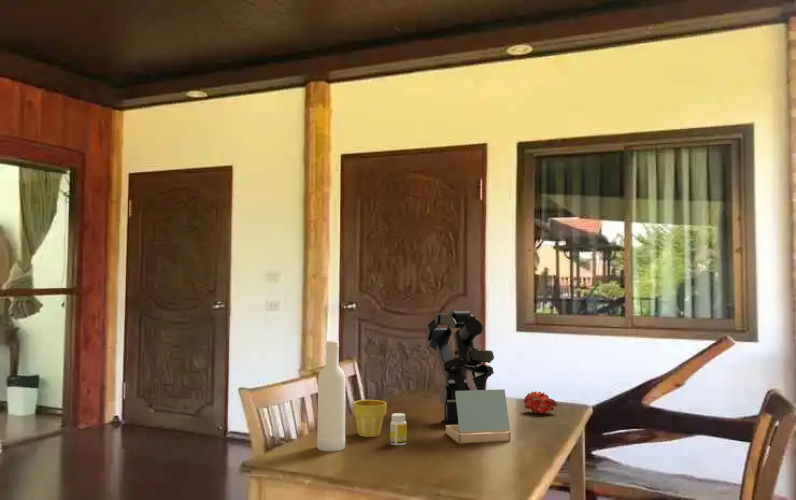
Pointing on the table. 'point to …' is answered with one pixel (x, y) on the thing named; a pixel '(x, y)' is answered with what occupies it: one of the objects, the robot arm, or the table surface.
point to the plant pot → (369, 416)
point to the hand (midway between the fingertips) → (473, 394)
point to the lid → (482, 411)
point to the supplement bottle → (398, 429)
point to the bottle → (331, 402)
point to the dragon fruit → (539, 402)
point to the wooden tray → (476, 436)
